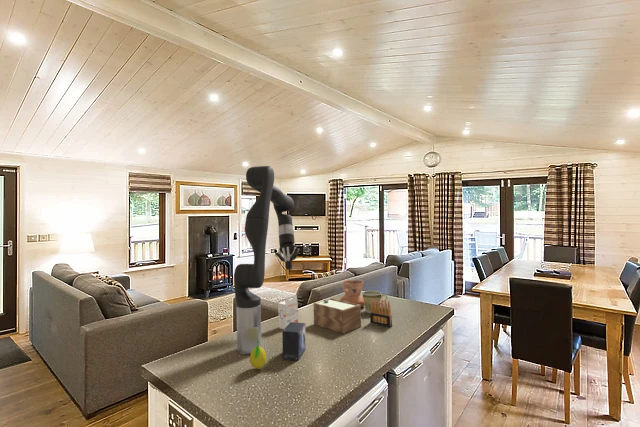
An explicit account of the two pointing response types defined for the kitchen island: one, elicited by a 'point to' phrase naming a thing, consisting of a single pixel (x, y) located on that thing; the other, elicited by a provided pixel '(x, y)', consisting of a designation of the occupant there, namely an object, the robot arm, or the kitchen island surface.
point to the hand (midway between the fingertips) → (289, 269)
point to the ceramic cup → (368, 297)
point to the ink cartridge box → (288, 311)
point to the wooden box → (338, 317)
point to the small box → (293, 341)
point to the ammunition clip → (380, 313)
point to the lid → (336, 304)
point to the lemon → (258, 357)
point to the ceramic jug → (353, 291)
